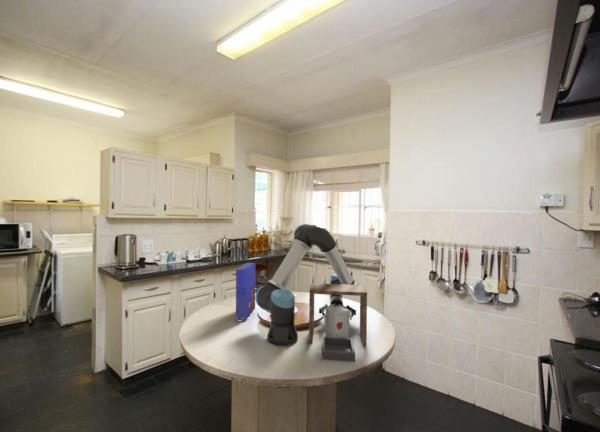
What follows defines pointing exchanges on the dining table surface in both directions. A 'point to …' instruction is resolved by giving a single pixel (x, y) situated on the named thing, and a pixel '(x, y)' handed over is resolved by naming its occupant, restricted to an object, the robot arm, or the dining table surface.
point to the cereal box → (245, 291)
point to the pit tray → (338, 349)
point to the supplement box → (337, 322)
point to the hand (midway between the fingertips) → (337, 317)
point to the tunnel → (340, 290)
